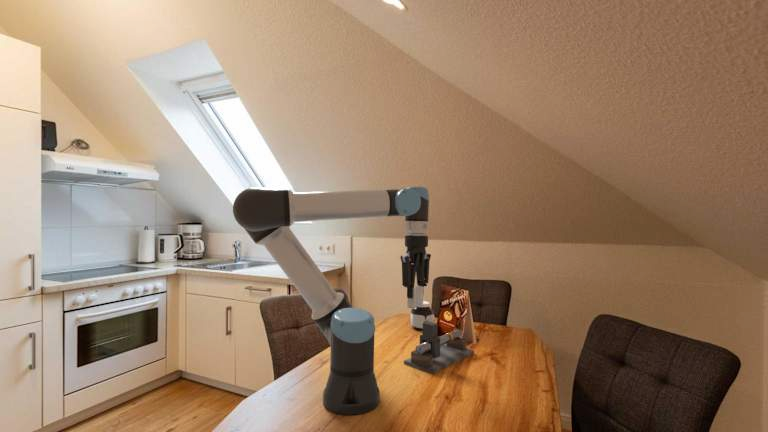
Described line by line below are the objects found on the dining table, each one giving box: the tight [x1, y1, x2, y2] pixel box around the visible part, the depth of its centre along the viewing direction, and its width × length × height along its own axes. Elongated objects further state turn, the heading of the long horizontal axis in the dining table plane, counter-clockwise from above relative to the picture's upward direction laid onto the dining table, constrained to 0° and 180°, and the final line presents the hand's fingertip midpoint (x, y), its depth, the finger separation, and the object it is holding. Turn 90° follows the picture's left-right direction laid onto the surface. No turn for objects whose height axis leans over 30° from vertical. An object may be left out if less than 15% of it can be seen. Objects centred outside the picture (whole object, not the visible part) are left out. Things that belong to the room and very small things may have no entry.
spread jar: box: [410, 300, 436, 331], centre depth 167 cm, size 12×11×12 cm
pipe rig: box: [403, 337, 475, 375], centre depth 130 cm, size 26×12×4 cm, turn 138°
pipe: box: [415, 329, 463, 355], centre depth 130 cm, size 25×3×3 cm, turn 138°
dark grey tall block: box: [419, 321, 440, 359], centre depth 125 cm, size 3×6×11 cm, turn 48°
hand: (415, 306), depth 119 cm, fingers open, 3 cm apart
